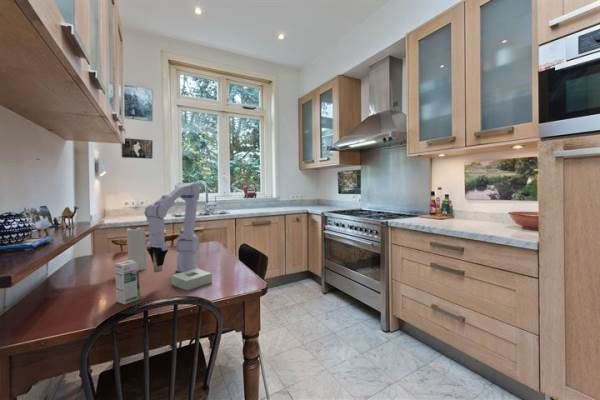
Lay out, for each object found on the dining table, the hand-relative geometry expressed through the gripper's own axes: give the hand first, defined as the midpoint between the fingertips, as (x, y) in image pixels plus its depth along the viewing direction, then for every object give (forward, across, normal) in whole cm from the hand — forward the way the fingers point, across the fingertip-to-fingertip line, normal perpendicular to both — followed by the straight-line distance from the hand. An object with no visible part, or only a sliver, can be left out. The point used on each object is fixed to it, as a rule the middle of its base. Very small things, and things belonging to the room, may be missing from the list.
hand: (158, 264), depth 115 cm
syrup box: (+10, +5, -14) cm, 17 cm away
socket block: (+9, +8, +10) cm, 16 cm away
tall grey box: (+10, -33, +4) cm, 35 cm away
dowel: (+3, 0, 0) cm, 3 cm away
